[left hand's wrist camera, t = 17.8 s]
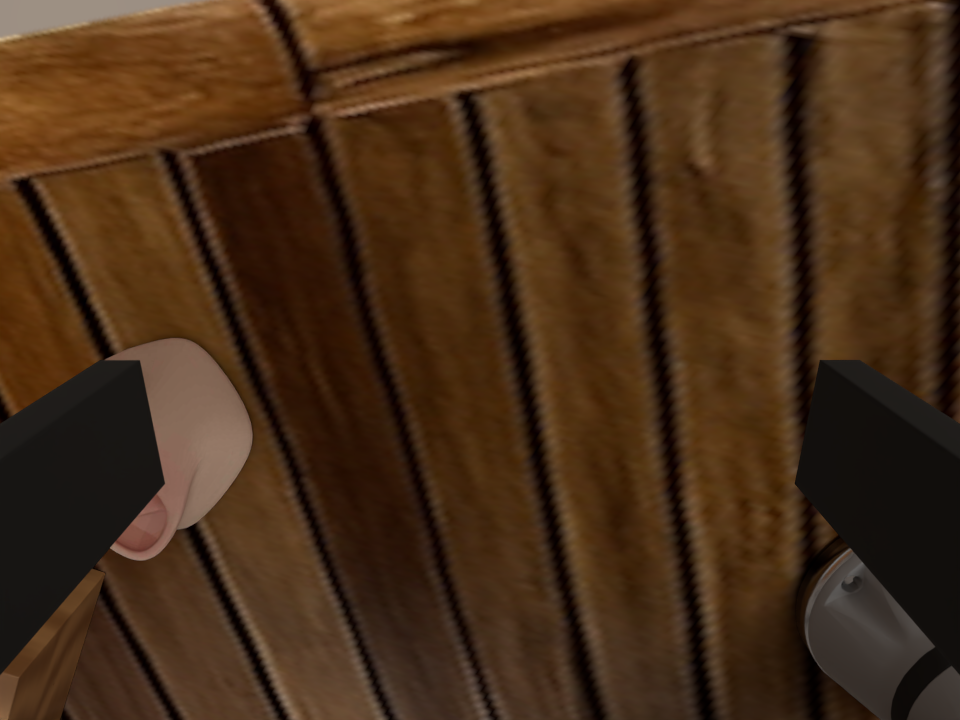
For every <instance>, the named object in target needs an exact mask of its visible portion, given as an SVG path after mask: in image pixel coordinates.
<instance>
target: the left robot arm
mask: <svg viewBox="0 0 960 720" xmlns="http://www.w3.org/2000/svg"><path fill="white" fill-rule="evenodd" d="M164 485H165V480H164V475H163V470H162V466H161V461H160V456H159V451H158V446H157V441H156V436H155V431H154V426H153V421H152V417H151V412H150V407H149V402H148V397H147V392H146V387H145V382H144V377H143V372H142V368H141V363H140V360H100V361H98V362H97V363H95V364H93V365H92V366H90V367H89V368H87V369H86V370H84V371H82V372H81V373H79V374H78V375H76V376H75V377H73V378H72V379H70V380H68V381H67V382H65V383H64V384H62V385H61V386H59V387H57V388H56V389H54V390H53V391H51V392H50V393H48V394H46V395H45V396H43V397H42V398H40V399H39V400H37V401H35V402H34V403H32V404H31V405H29V406H28V407H26V408H24V409H23V410H21V411H20V412H18V413H17V414H15V415H13V416H12V417H10V418H9V419H7V420H6V421H4V422H2V423H1V424H0V675H1V674H2V673H3V671H4V670H5V669H6V668H7V667H8V666H9V664H10V663H11V662H12V661H13V660H14V659H15V657H16V656H17V655H18V654H19V653H20V652H21V651H22V649H23V648H24V647H25V646H26V645H27V644H28V642H29V641H30V640H31V639H32V638H33V637H34V635H35V634H36V633H37V632H38V631H39V630H40V628H41V627H42V626H43V625H44V624H45V623H46V622H47V620H48V619H49V618H50V617H51V616H52V615H53V613H54V612H55V611H56V610H57V609H58V608H59V606H60V605H61V604H62V603H63V602H64V601H65V599H66V598H67V597H68V596H69V595H70V594H71V592H72V591H73V590H74V589H75V588H76V587H77V586H78V584H79V583H80V582H81V581H82V580H83V579H84V577H85V576H86V575H87V574H88V573H89V572H90V570H91V569H92V568H93V567H94V566H95V565H96V563H97V562H98V561H99V560H100V559H101V558H102V557H103V555H104V554H105V553H106V552H107V551H108V550H109V548H110V547H111V546H112V545H113V544H114V543H115V541H116V540H117V539H118V538H119V537H120V536H121V534H122V533H123V532H124V531H125V530H126V529H127V528H128V526H129V525H130V524H131V523H132V522H133V521H134V519H135V518H136V517H137V516H138V515H139V514H140V512H141V511H142V510H143V509H144V508H145V507H146V505H147V504H148V503H149V502H150V501H151V500H152V498H153V497H154V496H155V495H156V494H157V493H158V492H159V490H160V489H161V488H162V487H163V486H164ZM795 485H796V486H797V487H798V488H799V489H800V490H801V492H802V493H803V494H804V495H805V496H806V497H807V498H808V500H809V501H810V502H811V503H812V504H813V505H814V507H815V508H816V509H817V510H818V511H819V512H820V514H821V515H822V516H823V517H824V518H825V519H826V521H827V522H828V523H829V524H830V525H831V526H832V528H833V529H834V530H835V531H836V532H837V533H838V534H839V536H840V538H839V539H837V540H836V541H835V542H834V543H833V544H831V545H830V546H829V547H828V548H827V549H826V550H825V551H824V552H823V553H822V554H821V555H820V556H819V557H818V558H817V560H816V561H815V562H814V563H813V565H812V566H811V568H810V569H809V571H808V572H807V574H806V576H805V578H804V580H803V582H802V584H801V586H800V589H799V592H798V596H797V601H796V610H795V612H796V623H797V628H798V631H799V634H800V636H801V638H802V640H803V642H804V643H805V645H806V647H807V648H808V650H809V651H810V653H811V655H812V656H813V658H814V660H815V661H816V663H817V664H818V666H819V667H820V668H821V669H822V670H823V671H824V672H825V673H826V674H827V675H828V676H829V677H830V678H831V679H833V680H834V681H835V682H836V683H838V684H839V685H840V686H841V687H843V688H844V689H845V690H846V691H847V692H848V693H850V694H851V695H852V696H853V697H854V698H855V699H857V700H858V701H859V702H860V703H862V704H863V705H864V706H865V707H866V708H868V709H869V710H870V711H871V712H872V713H874V714H875V715H876V716H877V717H878V718H880V719H881V720H960V424H959V423H958V422H956V421H954V420H953V419H951V418H950V417H948V416H947V415H945V414H943V413H942V412H940V411H939V410H937V409H936V408H934V407H932V406H931V405H929V404H928V403H926V402H925V401H923V400H921V399H920V398H918V397H917V396H915V395H914V394H912V393H910V392H909V391H907V390H906V389H904V388H903V387H901V386H899V385H898V384H896V383H895V382H893V381H892V380H890V379H888V378H887V377H885V376H884V375H882V374H881V373H879V372H878V371H876V370H874V369H873V368H871V367H870V366H868V365H867V364H865V363H863V362H862V361H860V360H820V363H819V368H818V372H817V377H816V382H815V387H814V392H813V397H812V402H811V407H810V412H809V417H808V421H807V426H806V431H805V436H804V441H803V446H802V451H801V456H800V461H799V466H798V470H797V475H796V480H795Z"/></svg>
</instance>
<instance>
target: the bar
mask: <svg viewBox="0 0 960 720" xmlns="http://www.w3.org/2000/svg"><path fill="white" fill-rule="evenodd" d="M104 576H105V573H104V572H101V571H98V570H95V569H91V570H90V572H89V573H88V574H87V575H86V576H85V577H84V579H83V580H82V581H81V582H80V583H79V584H78V586H77V587H76V588H75V589H74V590H73V591H72V592H71V594H70V595H69V596H68V597H67V598H66V599H65V601H64V602H63V603H62V604H61V605H60V606H59V608H58V609H57V610H56V611H55V612H54V613H53V615H52V616H51V617H50V618H49V619H48V620H47V622H46V623H45V624H44V625H43V626H42V627H41V628H40V630H39V631H38V632H37V633H36V634H35V635H34V637H33V638H32V639H31V640H30V641H29V642H28V644H27V645H26V646H25V647H24V648H23V649H22V651H21V652H20V653H19V654H18V655H17V656H16V657H15V659H14V660H13V661H12V662H11V663H10V664H9V666H8V667H7V668H6V669H5V670H4V671H3V673H2V674H1V675H0V720H60V718H61V715H62V712H63V709H64V705H65V702H66V699H67V696H68V693H69V689H70V686H71V683H72V680H73V676H74V673H75V670H76V667H77V663H78V660H79V657H80V654H81V650H82V647H83V644H84V641H85V638H86V634H87V631H88V628H89V625H90V621H91V618H92V615H93V612H94V608H95V605H96V602H97V599H98V596H99V592H100V589H101V586H102V583H103V579H104Z"/></svg>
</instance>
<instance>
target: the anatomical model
mask: <svg viewBox="0 0 960 720" xmlns="http://www.w3.org/2000/svg"><path fill="white" fill-rule="evenodd" d="M105 360H140V363H141V368H142V372H143V377H144V382H145V387H146V392H147V397H148V402H149V407H150V412H151V417H152V421H153V426H154V431H155V436H156V441H157V446H158V451H159V456H160V461H161V466H162V470H163V475H164V480H165V485H164V486H163V487H162V488H161V489H160V490H159V492H158V493H157V494H156V495H155V496H154V497H153V498H152V500H151V501H150V502H149V503H148V504H147V505H146V507H145V508H144V509H143V510H142V511H141V512H140V514H139V515H138V516H137V517H136V518H135V519H134V521H133V522H132V523H131V524H130V525H129V526H128V528H127V529H126V530H125V531H124V532H123V533H122V534H121V536H120V537H119V538H118V539H117V540H116V541H115V543H114V544H113V545H112V546H111V547H110V548H111V549H112V550H114V551H115V552H117V553H119V554H121V555H123V556H125V557H127V558H130V559H133V560H147V559H150V558H153V557H154V556H156V555H157V554H159V553H160V552H161V551H162V550H163V549H164V548H165V547H166V546H167V544H168V543H169V541H170V540H171V538H172V537H173V535H174V533H175V532H176V530H177V529H183V528H187V527H189V526H191V525H193V524H195V523H196V522H198V521H199V520H200V519H201V518H202V517H204V516H205V515H206V514H207V513H208V512H209V511H210V510H211V509H212V507H213V506H214V505H215V504H216V503H217V502H218V501H219V500H220V498H221V497H222V496H223V494H224V493H225V492H226V491H227V489H228V488H229V487H230V485H231V484H232V483H233V481H234V480H235V478H236V477H237V475H238V474H239V472H240V471H241V469H242V467H243V465H244V463H245V462H246V460H247V458H248V455H249V453H250V450H251V446H252V436H253V433H252V426H251V422H250V419H249V416H248V413H247V411H246V408H245V406H244V404H243V402H242V400H241V398H240V396H239V394H238V393H237V391H236V389H235V388H234V386H233V385H232V383H231V382H230V380H229V379H228V377H227V376H226V375H225V373H224V372H223V371H222V369H221V368H220V367H219V365H218V364H217V363H216V362H215V361H214V360H213V358H212V357H211V356H210V355H209V354H208V353H207V352H206V351H205V350H204V349H203V348H201V347H200V346H199V345H197V344H196V343H194V342H192V341H190V340H187V339H183V338H169V339H163V340H157V341H154V342H150V343H146V344H142V345H139V346H135V347H132V348H129V349H126V350H124V351H122V352H120V353H118V354H116V355H113V356H111V357H109V358H107V359H105Z"/></svg>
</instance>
